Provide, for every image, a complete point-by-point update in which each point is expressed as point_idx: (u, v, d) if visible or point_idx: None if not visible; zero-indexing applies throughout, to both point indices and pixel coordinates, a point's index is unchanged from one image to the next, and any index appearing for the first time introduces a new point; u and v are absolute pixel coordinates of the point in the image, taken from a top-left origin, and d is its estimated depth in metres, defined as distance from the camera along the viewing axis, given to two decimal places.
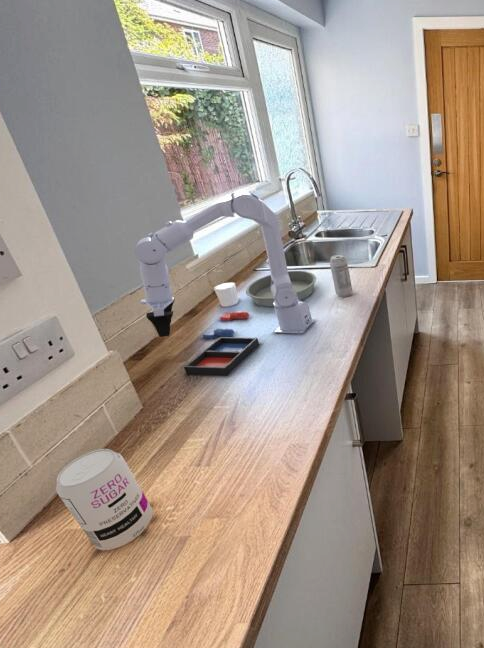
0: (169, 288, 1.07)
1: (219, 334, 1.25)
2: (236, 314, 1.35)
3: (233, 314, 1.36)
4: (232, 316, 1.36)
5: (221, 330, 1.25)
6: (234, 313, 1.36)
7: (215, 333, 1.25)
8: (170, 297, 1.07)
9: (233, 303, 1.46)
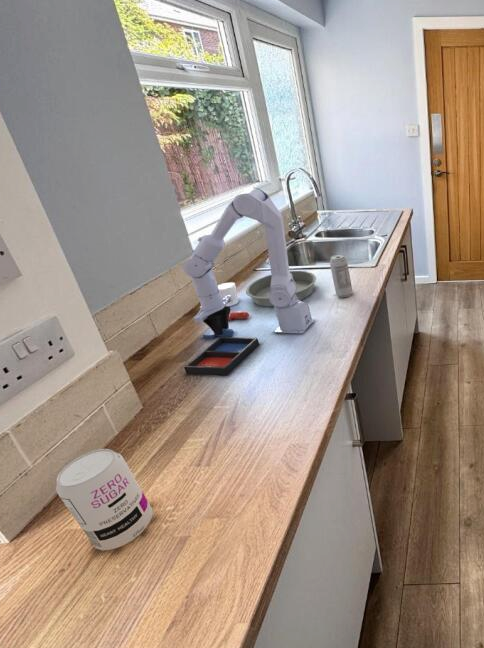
0: (215, 298, 1.20)
1: None
2: (236, 314, 1.35)
3: (233, 314, 1.36)
4: (232, 316, 1.36)
5: None
6: (234, 313, 1.36)
7: None
8: (216, 306, 1.21)
9: (233, 303, 1.46)
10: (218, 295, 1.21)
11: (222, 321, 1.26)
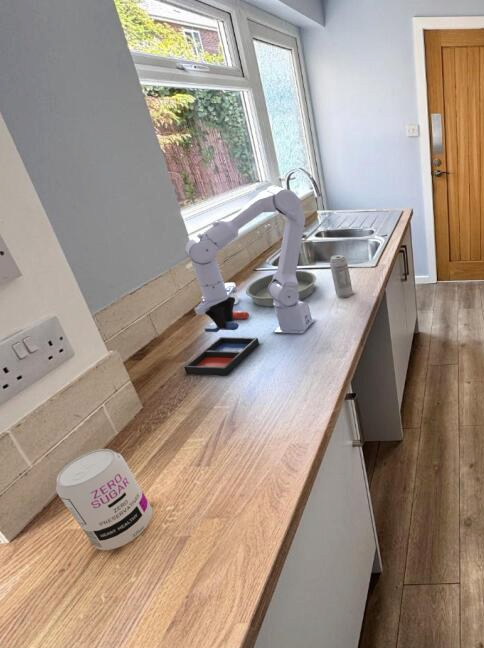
0: (218, 288, 1.09)
1: None
2: (236, 314, 1.35)
3: (233, 314, 1.36)
4: None
5: None
6: (234, 313, 1.36)
7: None
8: (220, 296, 1.10)
9: None
10: (221, 284, 1.10)
11: (226, 313, 1.16)
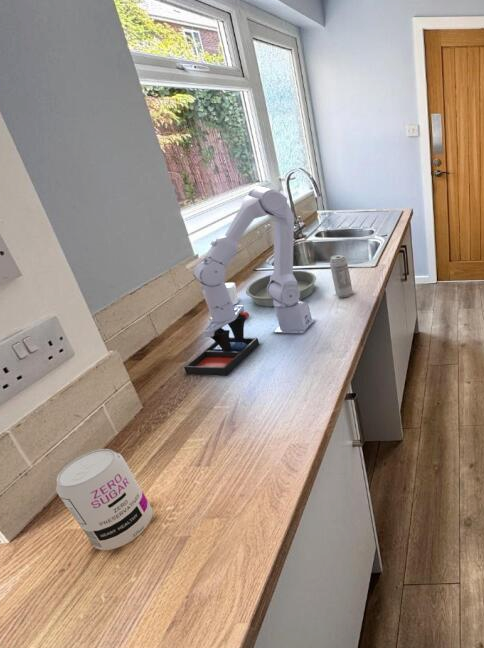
0: (226, 309, 1.11)
1: (231, 348, 1.16)
2: None
3: None
4: None
5: (233, 344, 1.16)
6: None
7: None
8: (228, 318, 1.11)
9: (233, 303, 1.46)
10: (230, 306, 1.11)
11: (237, 330, 1.18)
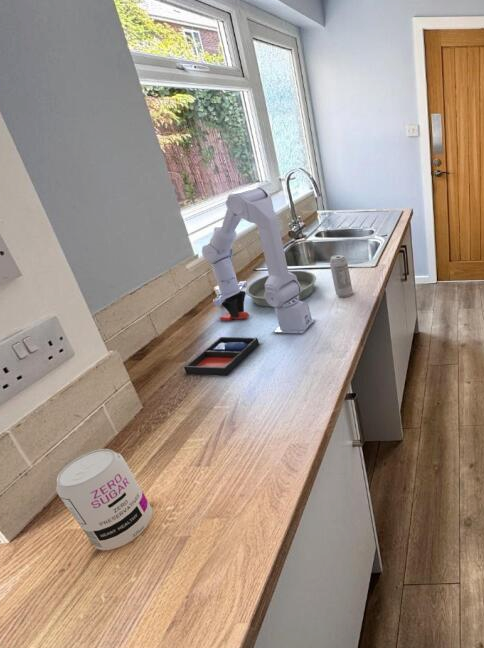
0: (232, 283, 1.30)
1: (231, 348, 1.16)
2: None
3: None
4: None
5: (233, 344, 1.16)
6: None
7: (226, 347, 1.16)
8: (233, 290, 1.31)
9: None
10: (235, 280, 1.31)
11: (238, 305, 1.36)
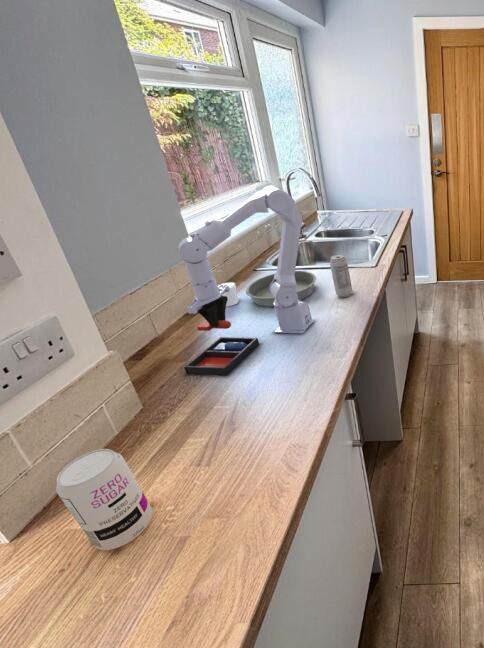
0: (210, 287, 1.10)
1: (231, 348, 1.16)
2: None
3: None
4: None
5: (233, 344, 1.16)
6: None
7: (226, 347, 1.16)
8: (212, 295, 1.11)
9: (233, 303, 1.46)
10: (214, 283, 1.11)
11: (218, 312, 1.16)
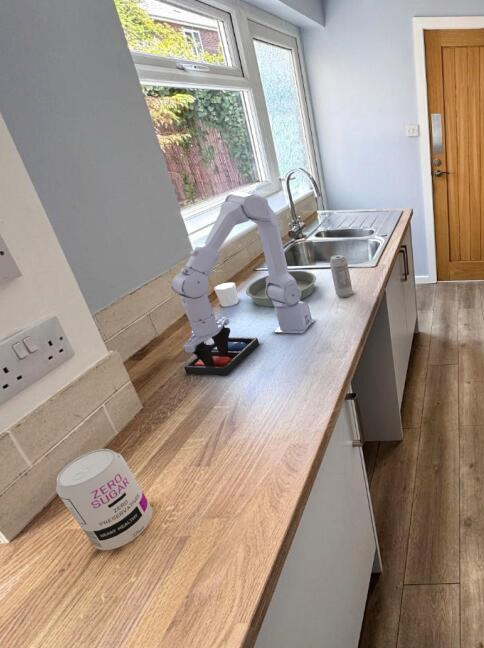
0: (209, 323, 1.04)
1: (231, 348, 1.16)
2: (214, 359, 1.10)
3: None
4: None
5: (233, 344, 1.16)
6: None
7: None
8: (211, 331, 1.05)
9: (233, 303, 1.46)
10: (212, 319, 1.05)
11: (221, 344, 1.12)
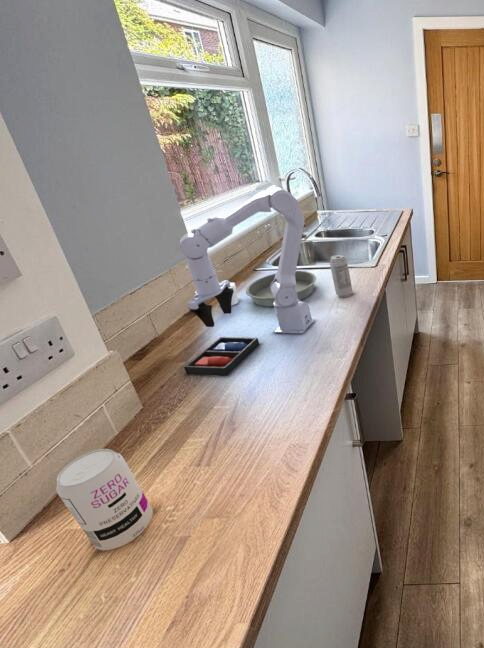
0: (211, 282, 1.10)
1: (231, 348, 1.16)
2: (214, 359, 1.10)
3: (211, 360, 1.10)
4: (210, 362, 1.10)
5: (233, 344, 1.16)
6: (212, 359, 1.10)
7: (226, 347, 1.16)
8: (213, 291, 1.11)
9: (233, 303, 1.46)
10: (215, 279, 1.11)
11: (224, 304, 1.19)
